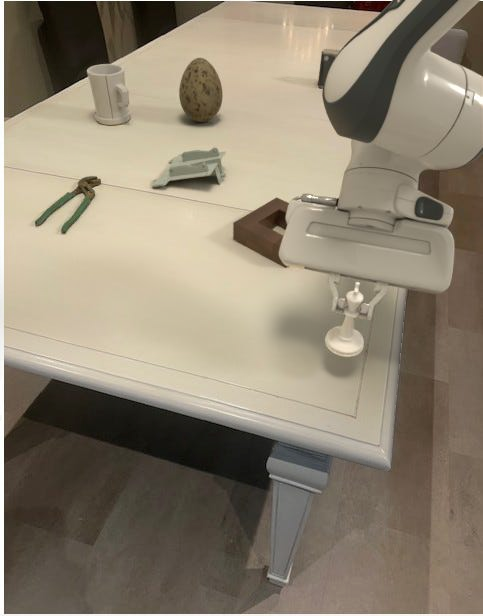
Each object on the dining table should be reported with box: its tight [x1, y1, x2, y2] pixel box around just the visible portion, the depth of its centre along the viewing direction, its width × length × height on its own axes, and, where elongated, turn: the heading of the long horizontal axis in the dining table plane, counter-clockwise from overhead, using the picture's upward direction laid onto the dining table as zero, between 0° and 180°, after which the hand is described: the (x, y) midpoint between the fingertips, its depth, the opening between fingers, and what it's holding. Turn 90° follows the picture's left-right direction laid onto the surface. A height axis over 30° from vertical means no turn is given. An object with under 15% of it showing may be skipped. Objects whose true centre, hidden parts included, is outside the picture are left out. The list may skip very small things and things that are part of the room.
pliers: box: [34, 175, 102, 234], centre depth 93 cm, size 20×6×1 cm, turn 165°
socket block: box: [232, 196, 289, 268], centre depth 85 cm, size 12×12×4 cm
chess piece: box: [324, 281, 365, 358], centre depth 59 cm, size 5×5×10 cm
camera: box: [317, 48, 341, 89], centre depth 142 cm, size 11×6×10 cm, turn 73°
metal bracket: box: [151, 146, 227, 188], centre depth 102 cm, size 14×6×15 cm
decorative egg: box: [178, 57, 224, 123], centre depth 120 cm, size 11×11×15 cm
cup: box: [86, 63, 131, 126], centre depth 120 cm, size 10×9×12 cm
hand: (350, 315), depth 58 cm, fingers closed on chess piece
